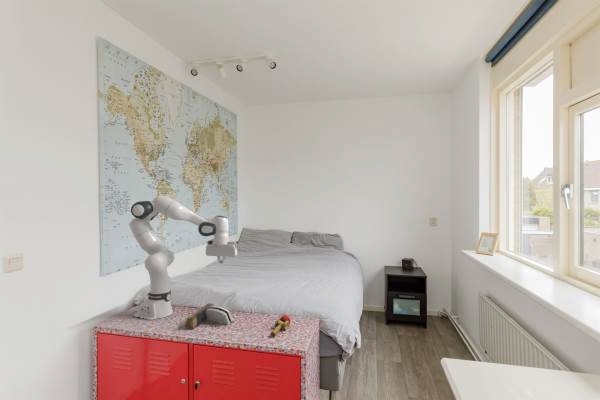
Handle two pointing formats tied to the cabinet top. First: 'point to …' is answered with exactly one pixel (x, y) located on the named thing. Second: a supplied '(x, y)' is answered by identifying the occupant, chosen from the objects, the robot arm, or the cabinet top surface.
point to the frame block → (194, 318)
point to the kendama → (281, 324)
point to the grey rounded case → (219, 315)
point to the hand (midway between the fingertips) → (221, 263)
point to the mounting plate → (202, 316)
